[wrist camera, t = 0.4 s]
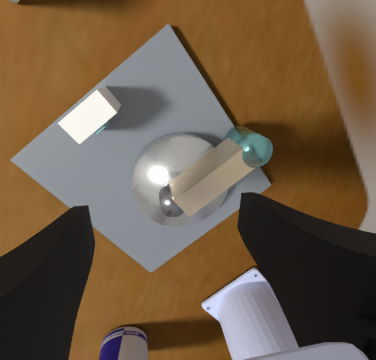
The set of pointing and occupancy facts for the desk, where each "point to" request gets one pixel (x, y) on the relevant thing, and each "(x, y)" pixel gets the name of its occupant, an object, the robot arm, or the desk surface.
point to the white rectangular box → (91, 115)
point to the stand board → (136, 150)
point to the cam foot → (193, 173)
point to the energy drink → (124, 344)
